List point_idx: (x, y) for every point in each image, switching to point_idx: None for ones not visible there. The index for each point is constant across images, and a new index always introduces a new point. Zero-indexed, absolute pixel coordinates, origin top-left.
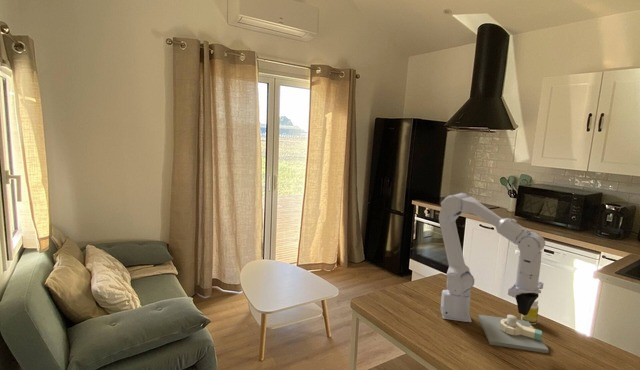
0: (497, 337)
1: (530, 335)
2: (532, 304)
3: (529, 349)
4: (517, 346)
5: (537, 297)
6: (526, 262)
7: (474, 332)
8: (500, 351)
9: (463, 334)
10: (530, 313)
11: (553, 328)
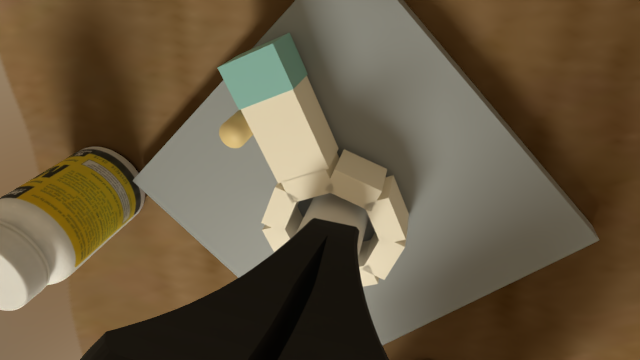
0: (506, 227)
1: (311, 102)
2: (27, 241)
3: (437, 43)
4: (489, 107)
5: (125, 333)
6: None
7: (519, 320)
8: (626, 154)
9: (601, 350)
10: (88, 204)
11: (36, 63)
